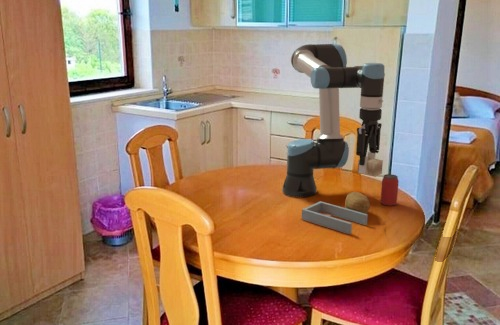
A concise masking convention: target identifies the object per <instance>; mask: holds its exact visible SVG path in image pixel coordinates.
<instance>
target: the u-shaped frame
mask: <svg viewBox="0 0 500 325" xmlns="http://www.w3.org/2000/svg"><path fill="white" fill-rule="evenodd" d="M339 218H340V219H339ZM301 220H303V221H306V222H308V223H311V224H315V225H319V226H322V227H325V228H328V229H330V230H331V229H332V230H335V231H337V232H341V233H343V234H347V235H351V234H352V230H353V228H352V227H353V223H357V224H359V225H363V226H367V225H368V213H365V214H364V213H361V212H357V211H354V210H350V209H347V208H346V207H343V206H339V205H335V204H332V203H328V202H325V201H321V200H319V201H318V202H316V203H313V204H311V205H309V206H306V207H304V208H302V209H301ZM346 220H347V221H346ZM352 222H353V223H352Z"/></svg>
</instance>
